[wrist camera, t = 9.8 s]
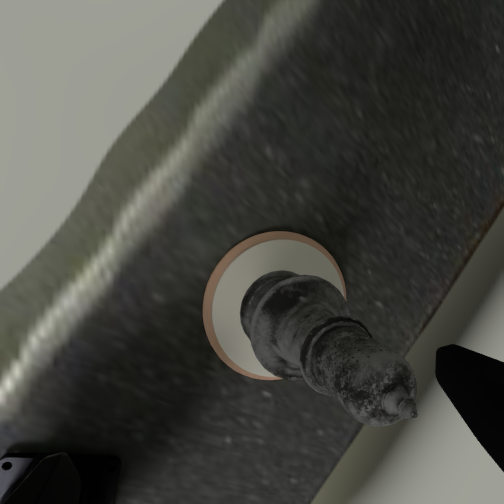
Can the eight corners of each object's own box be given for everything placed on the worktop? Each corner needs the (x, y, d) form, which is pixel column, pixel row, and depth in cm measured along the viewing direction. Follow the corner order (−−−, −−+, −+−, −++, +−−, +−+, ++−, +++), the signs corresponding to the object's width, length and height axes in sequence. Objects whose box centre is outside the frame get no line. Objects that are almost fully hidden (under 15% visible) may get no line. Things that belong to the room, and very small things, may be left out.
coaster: (324, 383, 25) (331, 390, 24) (186, 369, 22) (188, 376, 21) (357, 248, 24) (366, 249, 23) (221, 215, 21) (224, 215, 20)
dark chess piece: (306, 362, 23) (458, 511, 11) (223, 345, 21) (303, 500, 10) (332, 278, 23) (513, 343, 11) (251, 254, 21) (366, 302, 10)
